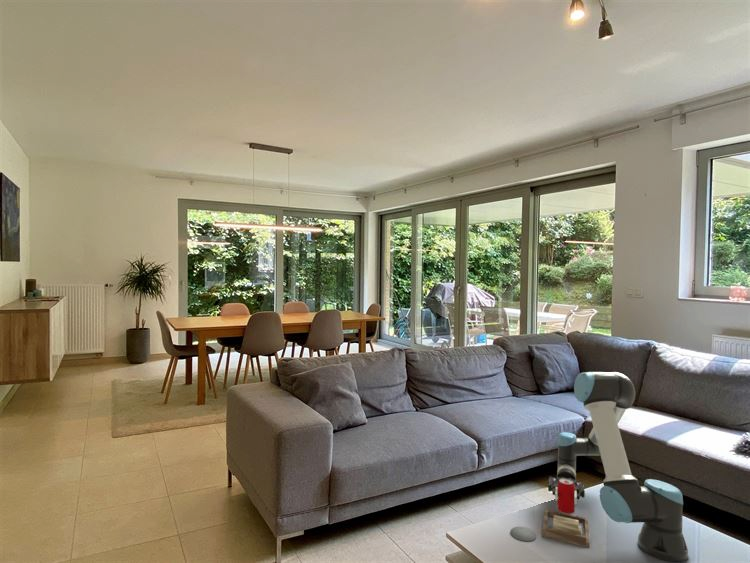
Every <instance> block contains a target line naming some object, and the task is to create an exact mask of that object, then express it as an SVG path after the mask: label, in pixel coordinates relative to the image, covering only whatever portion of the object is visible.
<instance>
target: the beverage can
mask: <svg viewBox="0 0 750 563" xmlns="http://www.w3.org/2000/svg"><path fill="white" fill-rule="evenodd" d="M574 494H575V486H574V484H573V481H572V480H569V479H565V478H562V479H559V482H558V497H557V510H558V512H559V513H563V514H569V515H573V514H574V513H575V505H576V504H575V503H574Z"/></svg>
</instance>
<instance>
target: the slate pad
mask: <svg viewBox="0 0 750 563" xmlns="http://www.w3.org/2000/svg"><path fill="white" fill-rule="evenodd" d="M510 534H511V536H512V537H513V538H514V539H516V540H519V541H522V542H527V543H528V542H533V541H535V540H536V539H537V534H536V532H535V531H534V530H533V529H530V528H528V527H524V526H515V527H512V528H511V530H510Z"/></svg>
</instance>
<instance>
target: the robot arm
mask: <svg viewBox="0 0 750 563" xmlns="http://www.w3.org/2000/svg"><path fill="white" fill-rule="evenodd" d="M574 380H575V381H574V385H573V390H574V391H573V393H574V397H575V398H576V400H577V401H578V402H579V403H582V404H583V406H584V409H585V410H587V411H588V412H589V415H590V418H591V422H592V426H593V427H592V428H591V431H590V433H589V434H588V437H577V436H576V434H574V433H572V432H566V431H565V432H560V433H559V434H558V438H557V471H556V472H557V474H556V477H553V476H548V483H547V484H548V485H547V491H548V492H552V496H554V498H555V500H554V502H555V501H556V502H558V482H559V479H562V478H565V479H569V480H572V481H573V484H574V486H575V494H574V503H575V505H577V504H578V503H577V502H578V500H581V498H582V499H584V498H586V492H585V482H583V481H581V482H578V481H577V472H576V471H577V457H578V456H597V457H598V456H599V457H600V458H601V462H602V465H603V469H604V473H605V478H604V479H603V481H602V484H603V486H602V487H601V488H600V489H599V500H600V504H601V506H602V508H603V510H604V512H605V514H606V515H607V516H608V517H609V518H610V519H611V521H612V520H613V521H614V522H616V523H622V524H623V523H624V524H630V523H632V524H633V523H636V524H637V523H643V524H642V527H641V529H640V532H639V533H638V535H637V545H638V546H639V548H640V549H641V550H642V551H644V552H645V553H647V555H650V556H652V557H654V558H657V559H660V560H663V561H667V562H674V563H680V562H684V561H687V560H688V558H689V549H688V546H687V543H686V540H685V536H684V534H683V517H684V516H683V511H684V510H683V509H684V500H683V499H684V498H683V493H682V491H681V490H680V489H679V488H678V487H676V486H674V485H673V484H670V483H667V482H665V481H662V480H659V479H658V480H657V479H652V478H649V479H648V478H646V479H645V480H644V483H643V484H644V485H640V483H639V479H638V478H636V477H635V476H634V475H633V474H632V471H631V468H630V464H629V460H628V457H627V452H626V450H625V445H624V442H623V439H622V438H623V437H622V435H621V431H620V428H619V425H618V424H619V422H620V421H621V419H622V417H623V415H624V414H625V412H626V411H627V410H629V409H630V408H631V407H632V406H633V404H634V402H635V398H636V389H635V386H634V384H633V381H632V380H631V379H630V378H629V377H628V376H626V375H625V374H623V373H620V372H617V371H610V372H609V371H608V372H607V371H606V372H605V371H587V372H586V371H585V372H584V371H583V372H580V373H579V374H578V375H577V376H576V378H575V379H574Z"/></svg>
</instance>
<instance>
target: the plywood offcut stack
mask: <svg viewBox="0 0 750 563" xmlns="http://www.w3.org/2000/svg"><path fill="white" fill-rule="evenodd" d="M552 521H553V524H552V529H555V530H560V531H564V532H569V533H573V534H578V535H582V533H583V532H582V526H581V525H579V524H580V522H579V520H575V519H570V518H566V517H561V516H556V515H554V516H553V520H552ZM582 536H583V535H582Z"/></svg>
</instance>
